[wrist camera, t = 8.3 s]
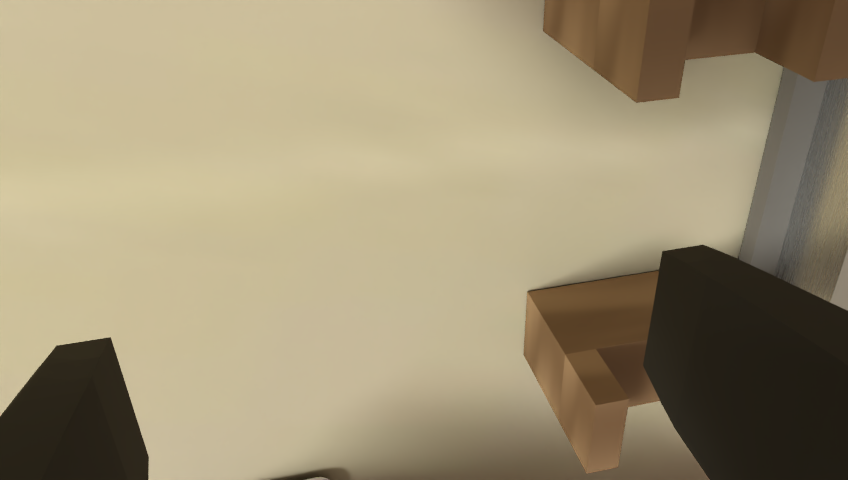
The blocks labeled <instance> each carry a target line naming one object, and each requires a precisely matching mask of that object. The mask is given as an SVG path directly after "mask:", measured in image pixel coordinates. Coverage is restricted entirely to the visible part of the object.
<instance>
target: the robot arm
mask: <svg viewBox="0 0 848 480" xmlns="http://www.w3.org/2000/svg"><path fill="white" fill-rule="evenodd" d="M643 367H644V369H645V371H646V373H647V375H648V377H649V379H650V381H651V383H652V385H653V387H654V389H655V391H656V393H657V395H658V397H659V399H660V401H661V403H662V405H663V407H664V409H665V411H666V413H667V414H668V416H669V418H670V420H671V422H672V424H673V426H674V428H675V429H676V431H677V432H678V434H679V435H680V437H681V438H682V440H683V441H684V443H685V444H686V445H687V447H688V448H689V450H690V451H691V453H692V454H693V456H694V457H695V459H696V460H697V461H698V463H699V464H700V466H701V467H702V469H703V470H704V472H705V473H706V475H707V476H708V477H709V479H710V480H848V311H847V310H845V309H843V308H841V307H839V306H837V305H835V304H832V303H830V302H828V301H826V300H824V299H822V298H820V297H818V296H816V295H813V294H811V293H809V292H807V291H805V290H803V289H801V288H799V287H797V286H795V285H792V284H790V283H788V282H786V281H784V280H782V279H780V278H778V277H776V276H774V275H771V274H769V273H767V272H765V271H763V270H761V269H759V268H756V267H754V266H752V265H750V264H748V263H746V262H743V261H741V260H739V259H737V258H734V257H732V256H730V255H727V254H725V253H723V252H720V251H718V250H715V249H713V248H710V247H707V246H705V245H700V246H693V247H687V248H680V249H674V250H668V251H663V252H662V257H661V263H660V269H659V275H658V281H657V286H656V292H655V298H654V304H653V310H652V315H651V321H650V327H649V333H648V339H647V344H646V350H645V356H644V362H643ZM148 461H149V457H148V454H147V451H146V447H145V444H144V441H143V438H142V435H141V432H140V428H139V425H138V422H137V419H136V416H135V413H134V410H133V406H132V403H131V400H130V397H129V394H128V391H127V388H126V384H125V381H124V378H123V375H122V372H121V369H120V365H119V362H118V359H117V356H116V353H115V350H114V347H113V343H112V340H111V337H110V338H104V339H97V340H91V341H84V342H78V343H72V344H65V345H59V346H56V347H55V349H54V350H53V351H52V352H51V353H50V355H49V356H48V357H47V358H46V360H45V361H44V362H43V363H42V364H41V366H40V367H39V368H38V369H37V370H36V372H35V373H34V374H33V375H32V377H31V378H30V379H29V381H28V382H27V383H26V384H25V386H24V387H23V388H22V389H21V391H20V392H19V393H18V394H17V396H16V397H15V398H14V400H13V401H12V402H11V403H10V405H9V406H8V407H7V408H6V410H5V411H4V412H3V413H2V415H1V416H0V480H148ZM305 480H329V479H327V478H323V477H315V478H310V479H305Z"/></svg>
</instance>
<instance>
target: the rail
mask: <svg viewBox="0 0 848 480" xmlns="http://www.w3.org/2000/svg"><path fill="white" fill-rule="evenodd" d="M774 276H776V277H778V278H780V279H782V280H784V281H786V282H788V283H790V284H792V285H795V286H797V287H799V288H801V289H803V290H805V291H807V292H809V293H811V294H813V295H816V296H818V297H820V298H822V299H824V300H826V301H828V302H830V303H832V304H835V305H837V306H839V307H841V308H843V309H845V310H847V311H848V78H844V79H836V80H828V81H827V84H826V88H825V92H824V95H823V99H822V103H821V106H820V110H819V114H818V117H817V121H816V125H815V128H814V132H813V136H812V139H811V143H810V147H809V150H808V154H807V158H806V161H805V165H804V169H803V172H802V176H801V180H800V183H799V187H798V191H797V194H796V198H795V202H794V205H793V209H792V213H791V216H790V220H789V224H788V227H787V231H786V235H785V238H784V242H783V246H782V249H781V253H780V257H779V260H778V264H777V268H776V271H775V275H774Z"/></svg>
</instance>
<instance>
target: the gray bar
mask: <svg viewBox="0 0 848 480" xmlns="http://www.w3.org/2000/svg"><path fill="white" fill-rule="evenodd" d="M827 81H828V80H827ZM827 81H818V82H813V81H811V80H809V79H807V78H805V77H803V76H801V75H799V74H797V73H795V72H793V71H791V70H789V69H787V68H785V67H784V70H783V74H782V78H781V83H780V87H779V91H778V95H777V99H776V103H775V108H774V112H773V116H772V120H771V124H770V129H769V133H768V137H767V141H766V145H765V150H764V154H763V158H762V162H761V166H760V171H759V175H758V179H757V183H756V187H755V192H754V196H753V200H752V204H751V208H750V213H749V217H748V221H747V225H746V229H745V234H744V238H743V242H742V246H741V250H740V255H739V260H741V261H743V262H746V263H748V264H750V265H752V266H754V267H756V268H759V269H761V270H763V271H765V272H767V273H769V274H771V275H775V271H776V268H777V264H778V260H779V257H780V253H781V249H782V246H783V242H784V238H785V235H786V231H787V227H788V224H789V220H790V216H791V213H792V209H793V205H794V202H795V198H796V194H797V191H798V187H799V183H800V180H801V176H802V172H803V169H804V165H805V161H806V158H807V154H808V150H809V147H810V143H811V139H812V136H813V132H814V128H815V125H816V121H817V117H818V114H819V110H820V106H821V103H822V99H823V95H824V92H825V88H826V84H827Z"/></svg>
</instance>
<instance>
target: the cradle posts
mask: <svg viewBox="0 0 848 480" xmlns="http://www.w3.org/2000/svg"><path fill="white" fill-rule="evenodd" d="M543 31H544V32H545V33H546V34H548V35H549V36H550V37H552V38H553V39H554V40H556V41H557V42H558V43H559V44H561V45H562V46H563V47H565V48H566V49H567V50H569V51H570V52H571V53H572V54H574V55H575V56H576V57H578V58H579V59H580V60H582V61H583V62H584V63H585V64H587V65H588V66H589V67H591V68H592V69H593V70H595V71H596V72H597V73H598V74H600V75H601V76H602V77H604V78H605V79H606V80H608V81H609V82H610V83H611V84H613V85H614V86H615V87H617V88H618V89H619V90H621V91H622V92H623V93H624V94H626V95H627V96H628V97H630V98H631V99H632V100H634V101H635V102H636V103H637V102H646V101H654V100H663V99H672V98H679V94H680V88H681V81H682V75H683V69H684V63H685V60H688V59H697V58H706V57H716V56H725V55H735V54H744V53H754V52H755V53H757V54H759V55H761V56H763V57H765V58H767V59H769V60H771V61H773V62H775V63H777V64H779V65H781V66H783V67H785V68H787V69H789V70H791V71H793V72H795V73H797V74H799V75H801V76H803V77H805V78H807V79H809V80H811V81H813V82H818V81H827V80H836V79H844V78H848V0H545V9H544V25H543ZM658 275H659V271H654V272H648V273H642V274H635V275H629V276H623V277H617V278H611V279H604V280H598V281H592V282H586V283H580V284H573V285H567V286H561V287H555V288H548V289H542V290H536V291H530V292H527V307H526V324H525V341H524V356H525V358H526V360H527V362H528V364H529V366H530V368H531V369H532V371H533V373H534V375H535V377H536V379H537V381H538V383H539V385H540V386H541V388H542V390H543V392H544V394H545V396H546V398H547V400H548V401H549V403H550V405H551V407H552V409H553V411H554V413H555V415H556V417H557V418H558V420H559V422H560V424H561V426H562V428H563V430H564V432H565V434H566V435H567V437H568V439H569V441H570V443H571V445H572V447H573V449H574V451H575V452H576V454H577V456H578V458H579V460H580V462H581V464H582V466H583V468H584V469H585V471H586V473H587V474H588V473H593V472H597V471H602V470H607V469H612V468H616V467H618V464H619V458H620V452H621V445H622V439H623V433H624V427H625V421H626V415H627V409H628V407H631V406H636V405H641V404H646V403H651V402H656V401H660V399H659V397H658V395H657V393H656V391H655V389H654V387H653V385H652V383H651V381H650V379H649V377H648V375H647V373H646V371H645V369H644V367H643V362H644V356H645V350H646V344H647V339H648V333H649V327H650V321H651V315H652V310H653V304H654V298H655V292H656V286H657V281H658Z"/></svg>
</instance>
